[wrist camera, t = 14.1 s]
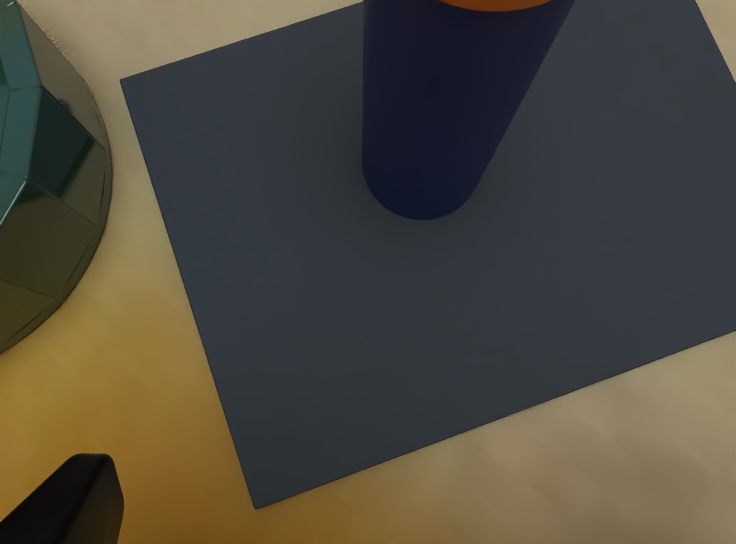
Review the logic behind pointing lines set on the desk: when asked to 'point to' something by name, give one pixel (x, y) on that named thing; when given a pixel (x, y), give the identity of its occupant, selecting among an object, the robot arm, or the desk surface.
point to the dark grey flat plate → (440, 236)
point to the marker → (445, 92)
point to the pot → (45, 175)
